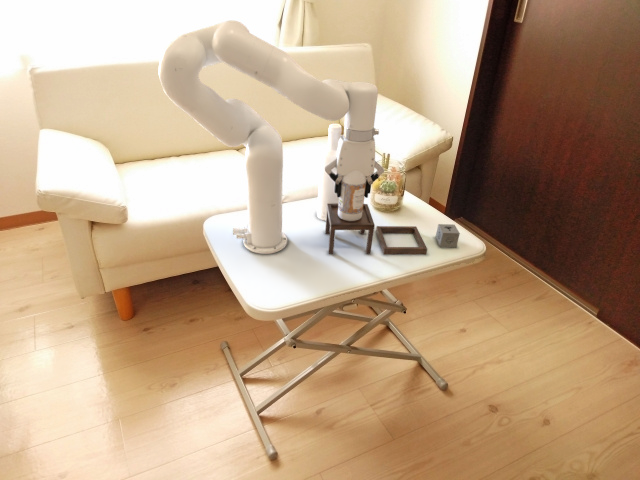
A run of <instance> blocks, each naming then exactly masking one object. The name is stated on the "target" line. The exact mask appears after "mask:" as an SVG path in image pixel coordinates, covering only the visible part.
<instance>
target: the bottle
mask: <svg viewBox="0 0 640 480" xmlns="http://www.w3.org/2000/svg"><path fill="white" fill-rule="evenodd" d="M342 127H343V126H342V125H341V124H339V123H331V124H329V126H328V129H327V130H328V139H327V147H326V148H324V150H323V151H321V154H320V157H319V173H318V191H317V192H318V193H317V205H316V216H317V218H318V219H320V221H321V220H322V221H325V222H326V214H327V204H339V197H337V193H335V182H334V181H333V180H332V179H331V178H330V176H329V175H328V174H327V173H326V171H325V167H326V166H327V165H329V164H330V163H331V162H333V161H334V160H335V159H336V154H337V148H338V143H339V139H340V136H341V135H342V131H343V130H342ZM332 172H333V173H334V174H335V175H336V174H337V169H336V168H335V167H334V168H333V169H332Z"/></svg>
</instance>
